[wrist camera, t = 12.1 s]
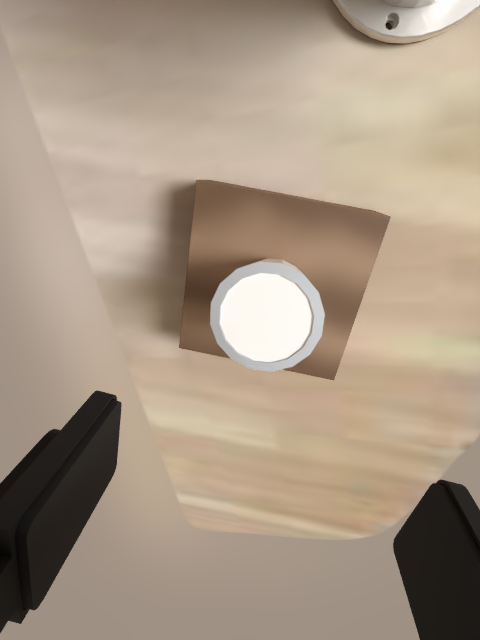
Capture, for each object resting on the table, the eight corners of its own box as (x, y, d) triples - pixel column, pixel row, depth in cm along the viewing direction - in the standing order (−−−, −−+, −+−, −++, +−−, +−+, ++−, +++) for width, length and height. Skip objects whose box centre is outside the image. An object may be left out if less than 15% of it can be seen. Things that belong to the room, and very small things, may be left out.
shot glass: (235, 337, 27) (218, 375, 21) (223, 255, 26) (200, 268, 19) (319, 331, 26) (328, 369, 20) (313, 244, 24) (321, 254, 18)
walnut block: (210, 179, 28) (196, 180, 23) (372, 210, 27) (390, 216, 23) (192, 324, 34) (179, 347, 29) (326, 352, 33) (333, 380, 29)
